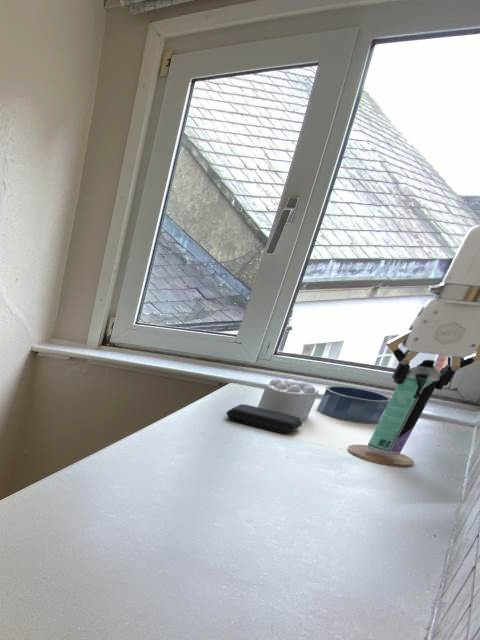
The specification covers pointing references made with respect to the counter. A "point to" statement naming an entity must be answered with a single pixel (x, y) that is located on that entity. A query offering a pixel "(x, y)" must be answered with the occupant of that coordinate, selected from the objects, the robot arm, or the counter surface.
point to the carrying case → (264, 418)
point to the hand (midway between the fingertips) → (417, 384)
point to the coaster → (380, 456)
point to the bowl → (353, 404)
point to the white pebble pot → (289, 397)
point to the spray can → (404, 409)
